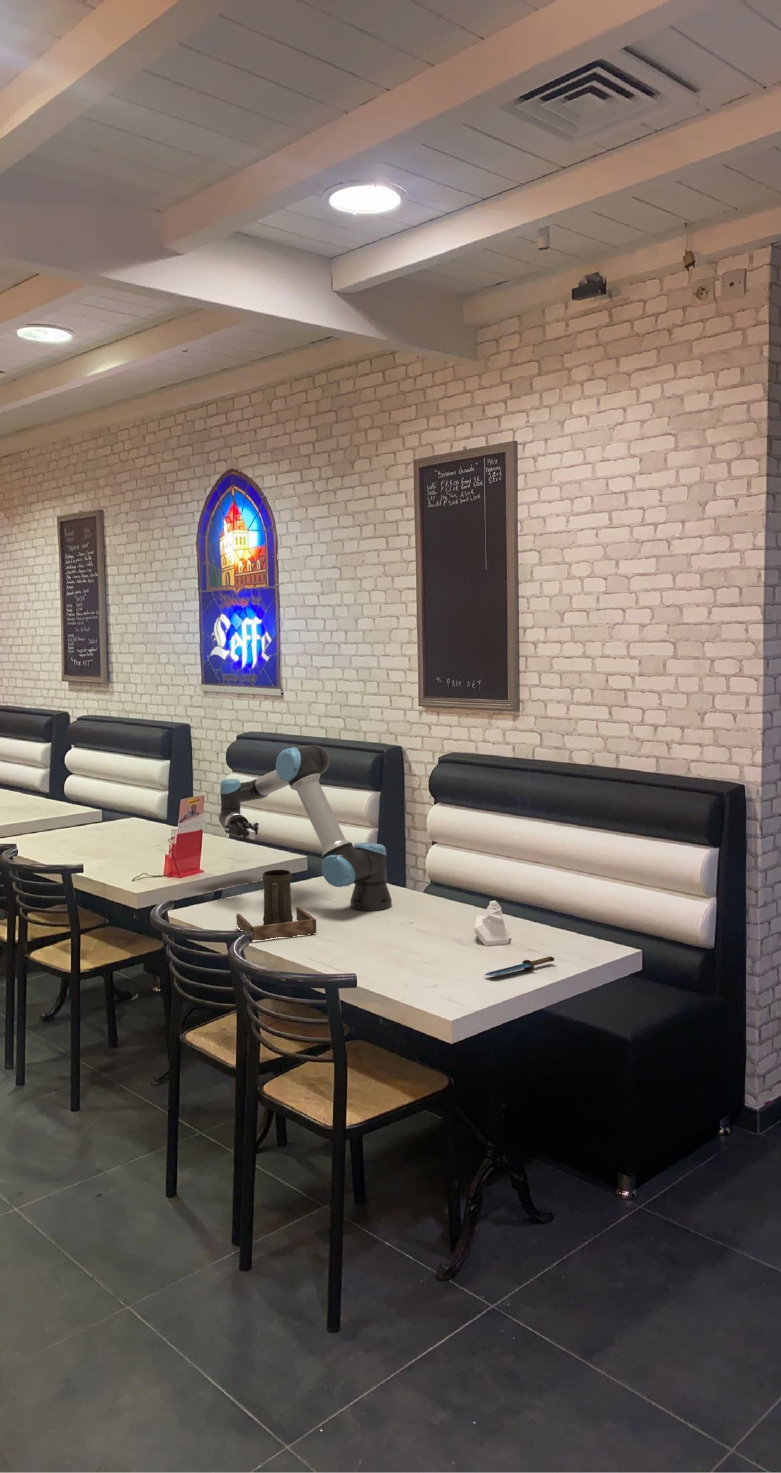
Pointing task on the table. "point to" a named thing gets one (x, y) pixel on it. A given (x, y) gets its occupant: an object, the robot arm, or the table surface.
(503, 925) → the white faceted rock
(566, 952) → the table surface
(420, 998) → the table surface
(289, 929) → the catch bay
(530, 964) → the knife
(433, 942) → the table surface
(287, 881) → the beer stein
